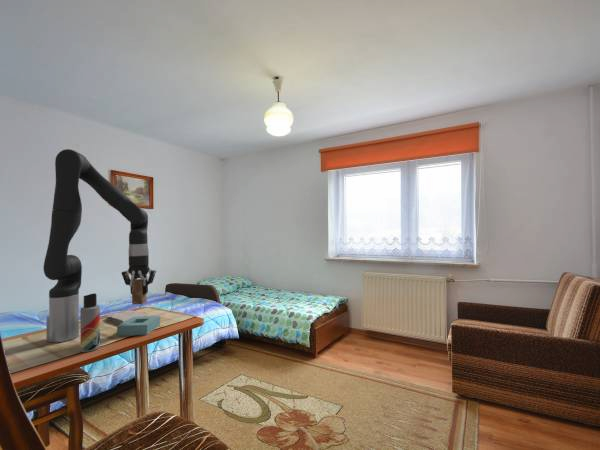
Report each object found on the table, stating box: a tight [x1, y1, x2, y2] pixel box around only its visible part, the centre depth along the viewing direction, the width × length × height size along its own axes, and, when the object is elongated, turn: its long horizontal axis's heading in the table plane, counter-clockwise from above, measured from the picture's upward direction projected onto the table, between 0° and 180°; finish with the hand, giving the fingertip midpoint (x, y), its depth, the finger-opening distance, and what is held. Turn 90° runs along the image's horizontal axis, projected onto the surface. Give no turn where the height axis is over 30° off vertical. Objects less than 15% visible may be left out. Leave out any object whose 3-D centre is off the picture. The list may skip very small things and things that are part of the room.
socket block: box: [116, 315, 161, 337], centre depth 124 cm, size 12×12×4 cm
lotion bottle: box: [79, 292, 101, 353], centre depth 104 cm, size 6×6×20 cm
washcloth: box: [105, 309, 148, 325], centre depth 140 cm, size 12×18×3 cm, turn 58°
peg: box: [131, 278, 148, 305], centre depth 124 cm, size 4×4×10 cm
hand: (139, 294), depth 124 cm, fingers closed on peg, 4 cm apart
